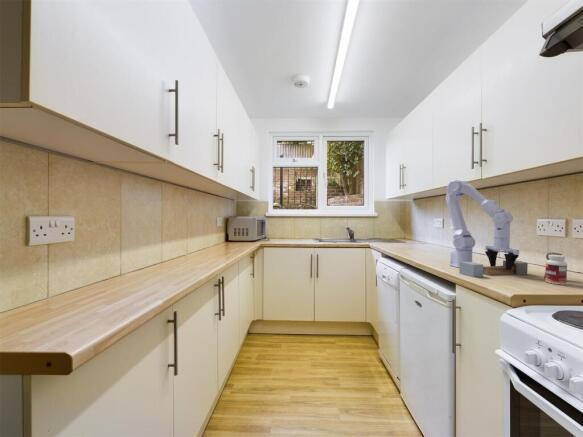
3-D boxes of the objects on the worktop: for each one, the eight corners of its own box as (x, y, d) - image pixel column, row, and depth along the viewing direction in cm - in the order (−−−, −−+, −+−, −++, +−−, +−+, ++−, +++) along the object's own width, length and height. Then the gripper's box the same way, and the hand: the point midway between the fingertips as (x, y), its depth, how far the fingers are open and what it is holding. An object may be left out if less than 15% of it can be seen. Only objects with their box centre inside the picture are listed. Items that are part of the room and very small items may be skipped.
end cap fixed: (502, 271, 133) (502, 260, 133) (511, 271, 134) (511, 260, 134) (518, 274, 126) (518, 263, 126) (527, 274, 127) (527, 262, 127)
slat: (480, 274, 128) (480, 266, 127) (508, 273, 131) (509, 265, 131) (487, 275, 124) (487, 268, 124) (515, 274, 128) (515, 266, 128)
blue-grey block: (459, 273, 127) (459, 261, 127) (468, 272, 129) (468, 261, 128) (473, 277, 120) (473, 264, 120) (482, 276, 121) (483, 264, 121)
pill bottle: (540, 281, 114) (541, 254, 114) (556, 281, 114) (557, 254, 114) (554, 285, 108) (555, 256, 108) (571, 285, 108) (572, 256, 108)
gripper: (480, 236, 134) (479, 265, 134) (510, 239, 120) (509, 271, 120) (492, 236, 136) (491, 264, 136) (523, 239, 121) (522, 271, 122)
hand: (500, 268), depth 128 cm, fingers open, 7 cm apart
